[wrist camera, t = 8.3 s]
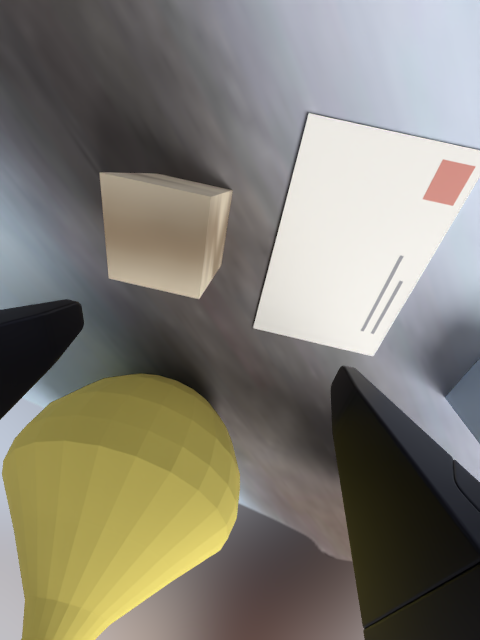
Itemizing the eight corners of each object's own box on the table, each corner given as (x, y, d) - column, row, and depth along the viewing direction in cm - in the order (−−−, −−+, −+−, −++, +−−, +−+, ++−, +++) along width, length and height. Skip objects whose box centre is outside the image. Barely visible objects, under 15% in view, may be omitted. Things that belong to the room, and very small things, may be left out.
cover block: (221, 264, 19) (199, 299, 13) (155, 250, 19) (108, 278, 14) (232, 190, 16) (211, 196, 11) (156, 173, 16) (99, 172, 11)
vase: (166, 474, 34) (61, 753, 18) (52, 387, 28) (-268, 686, 12) (282, 435, 27) (288, 842, 10) (163, 306, 21) (-258, 783, 4)
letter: (372, 355, 21) (373, 356, 20) (253, 327, 21) (253, 328, 21) (491, 153, 13) (493, 153, 13) (308, 113, 14) (308, 113, 14)
